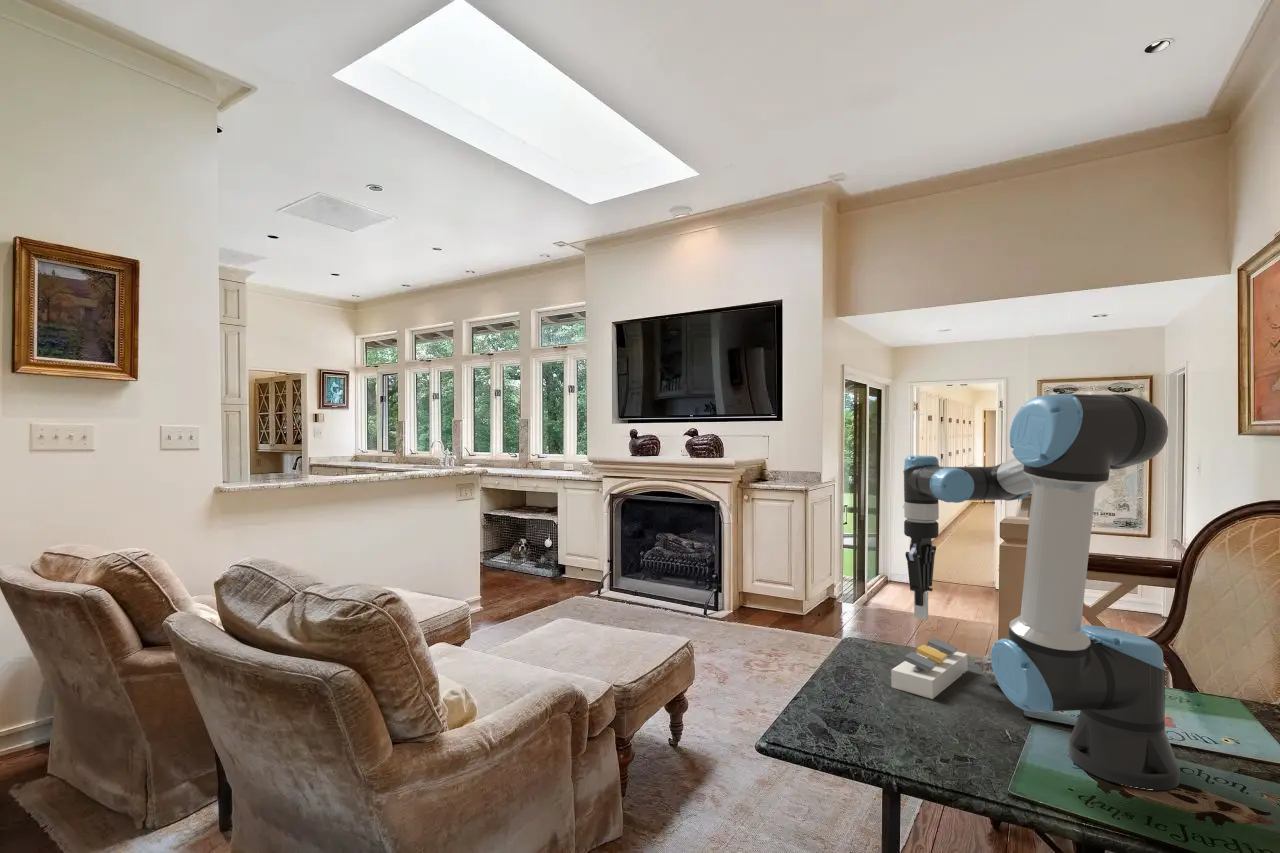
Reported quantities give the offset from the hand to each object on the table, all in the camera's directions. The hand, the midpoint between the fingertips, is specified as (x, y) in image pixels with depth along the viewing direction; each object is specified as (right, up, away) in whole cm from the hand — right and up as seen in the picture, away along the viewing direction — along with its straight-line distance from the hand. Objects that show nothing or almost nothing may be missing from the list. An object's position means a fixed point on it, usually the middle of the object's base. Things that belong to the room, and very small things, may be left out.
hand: (921, 618), depth 148 cm
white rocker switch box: (+3, -14, 0) cm, 14 cm away
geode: (+19, -14, -9) cm, 25 cm away
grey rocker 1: (-4, -9, -7) cm, 12 cm away
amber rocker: (+1, -9, -2) cm, 9 cm away
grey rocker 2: (+6, -9, +3) cm, 11 cm away
